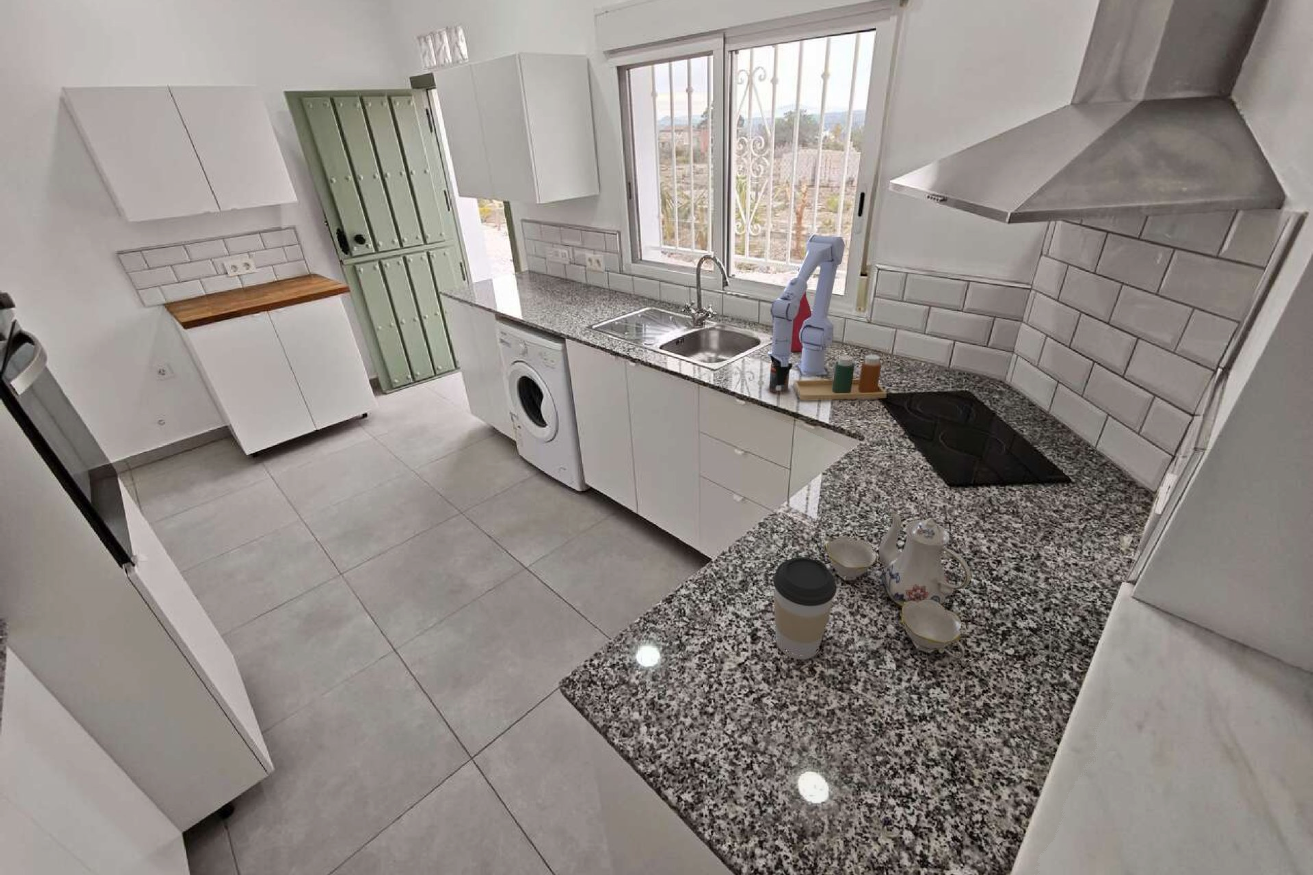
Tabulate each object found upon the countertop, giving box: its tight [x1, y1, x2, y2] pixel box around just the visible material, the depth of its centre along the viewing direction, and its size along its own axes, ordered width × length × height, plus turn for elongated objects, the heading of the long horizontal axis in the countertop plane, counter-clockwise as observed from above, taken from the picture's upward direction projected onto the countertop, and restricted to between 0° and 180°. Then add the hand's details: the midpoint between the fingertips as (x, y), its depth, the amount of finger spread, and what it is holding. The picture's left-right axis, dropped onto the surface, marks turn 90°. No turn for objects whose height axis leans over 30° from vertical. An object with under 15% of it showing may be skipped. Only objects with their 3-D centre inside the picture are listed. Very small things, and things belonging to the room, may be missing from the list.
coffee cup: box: [772, 556, 837, 661], centre depth 82 cm, size 9×9×15 cm
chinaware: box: [825, 509, 972, 660], centre depth 89 cm, size 28×17×17 cm, turn 29°
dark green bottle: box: [832, 354, 856, 393], centre depth 165 cm, size 6×6×11 cm
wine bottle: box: [791, 267, 812, 352], centre depth 198 cm, size 10×10×30 cm
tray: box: [792, 378, 888, 401], centre depth 168 cm, size 12×26×2 cm, turn 88°
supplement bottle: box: [768, 358, 791, 394], centre depth 169 cm, size 6×6×11 cm
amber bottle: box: [858, 354, 882, 393], centre depth 165 cm, size 6×6×11 cm
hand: (779, 380), depth 170 cm, fingers closed on supplement bottle, 6 cm apart
